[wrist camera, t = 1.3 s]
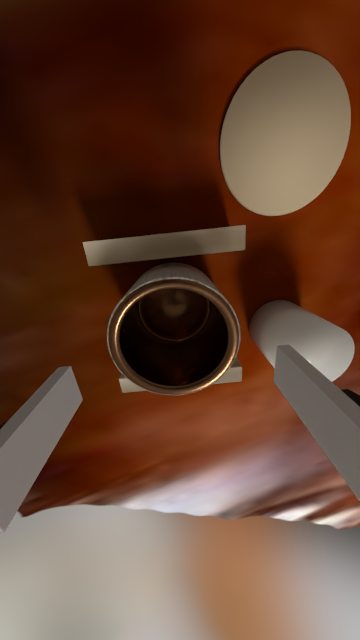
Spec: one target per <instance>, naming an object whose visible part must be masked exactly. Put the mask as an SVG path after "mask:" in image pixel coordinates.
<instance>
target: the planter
mask: <svg viewBox="0 0 360 640" xmlns="http://www.w3.org/2000/svg"><path fill="white" fill-rule="evenodd" d="M107 344H108V349H109V353H110V355H111V358H112V360H113V362H114V364H115V365H116V367H117V368H118V370H119V371H120V372H121V373H122V374H123V375H124V376H125V377H126V378H127V379H128V380H129V381H131V382H132V383H134V384H135V385H137V386H139V387H140V388H143V389H145V390H147V391H150V392H153V393H157V394H163V395H184V394H190V393H194V392H197V391H200V390H202V389H204V388H206V387H208V386H210V385H212V384H213V383H215V382H216V381H218V380H219V379H220V378H221V377H222V376H223V375H224V374H225V373H226V372H227V371H228V370H229V368H230V367H231V365H232V364H233V362H234V360H235V358H236V356H237V353H238V350H239V345H240V327H239V322H238V319H237V316H236V314H235V312H234V310H233V308H232V306H231V305H230V303H229V302H228V301H227V299H226V298H225V297H224V296H223V295H222V294H221V292H220V291H219V290H218V289H217V288H216V286H215V285H214V284H213V282H212V281H211V280H210V279H209V278H208V277H207V276H206V275H205V274H204V273H203V272H202V271H200V270H199V269H197V268H195V267H193V266H190V265H187V264H183V263H165V264H161V265H157V266H155V267H153V268H151V269H149V270H148V271H146V272H145V273H144V274H143V275H141V276H140V278H139V279H138V280H137V281H136V282H135V283H134V285H133V286H132V287H131V288H130V290H129V291H128V292H127V293H126V294H125V295H124V296H123V298H122V299H121V300H120V301H119V302H118V304H117V305H116V307H115V309H114V310H113V312H112V315H111V317H110V320H109V323H108V328H107Z"/></svg>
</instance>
